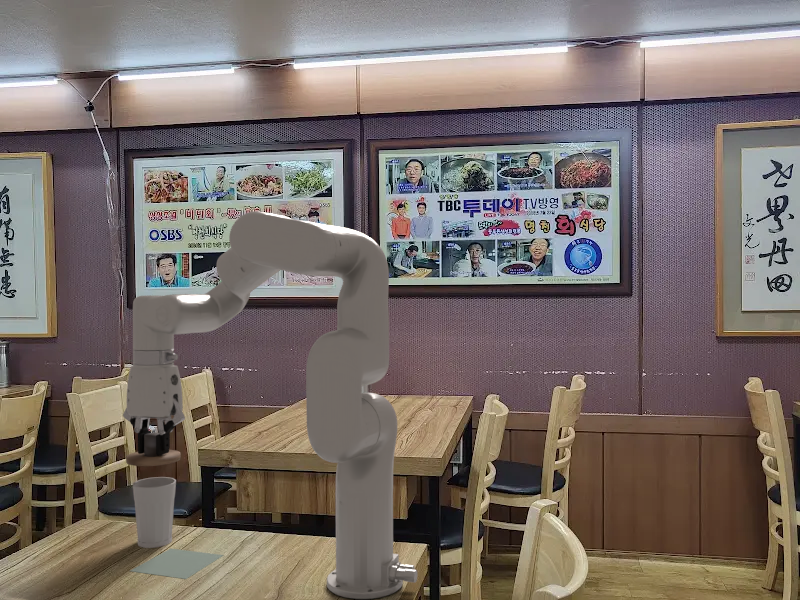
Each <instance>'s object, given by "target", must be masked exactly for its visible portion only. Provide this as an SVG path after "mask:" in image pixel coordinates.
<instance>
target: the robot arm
mask: <svg viewBox="0 0 800 600" xmlns="http://www.w3.org/2000/svg"><path fill="white" fill-rule="evenodd" d="M229 245H230V248H228V249H227V250H226V251H225V252H224V253H222V254H221V255H219V257H218V258H217V260H216V266H215V267H216V272H217V275H218V277H219V279H220V281H221V282H220V283H218V284H217V285H216V286H214V287H213V288H212V289H211V290H209V291H207V292H205V293H203V294H201V293H184V294H183V293H182V294H181V293H180V294H175V293H174V294H173V293H172V294H165V295H153V294H152V295H138V296H136V297H135V298H134V299H133V301H132V302H133V303H132V365H130V370H129V374H128V377H127V378H128V379H127V385H126V386H127V389H126V407H125V410H124V412H123V413H122V417H123V418H124V419H125V420H127V421H128V422H130V424H131V426H132V427H133V429H134V432H135V433H136V434H137V452H138V453H139V454H143V453H144V434H148V433H152V430H149V428H150V419H156V421H157V422H156V423H157V430H158V433H159V434H158V435H157V436H156V454H157V455H163V454H166V453H168V452H169V450H170V447H171V445H170V444H171V443H170V442H171V439H170V437H171V436H170V434H171V433H173V431H174V428H175V427H176V426H177V425H178V424H180V423H182V422H183V421H185V420H186V416H185V414H184V413H183V409H184V408H183V407H184V406H183V405H184V404H183V401H184V400H183V389H182V387H183V386H182V381H181V375H180V371H179V366H178V365H175V361H178V359H179V354H178V353H175V347H174V346H175V335H187V334H198V333H209V332H212V331H215V330H217V329H219V328H221V327H222V326H223V325H225V324H227V323H228V322H230V321H231V320H232V319H233V318H235V317H236V316H237V315H239V314H240V313H241V312H242V311H243V310H244V308H245V306H246V305H247V304H248V302H249V299H250V296H251V293H252V292H253V291H255V290H256V289H257V288H259V287H260V286H261V285H262V284H264V283H265V282H266V281H267V280H269V279H271V277H273V276H274V275H276V274H277V273H279V272H280V271H283V272H284V271H285V272H289V273H293V274H298V275H302V276H310V277H311V276H313V277H336V278H340V279H341V280H342V285H341V287H340V290H339V294H338V298H337V306H336V308H337V309H336V310H337V323H336V324H337V325H336V326H337V327H336V328H337V329H336V330H330V331H328V332H326V333H324V334H322V335H321V336H319V337H318V338H317V339H316V341H315V342H314V343H313V345H312V346H311V348H310V350H309V353H308V356H307V360H306V367H305V368H306V371H305V377H306V378H305V381H306V382H305V383H306V384H305V385H306V386H305V387H306V388H305V389H306V390H305V392H306V397H305V398H306V405H305V406H306V430H307V431H306V432H307V437H308V442H309V443H310V445H311V448H312V450H313V451H314V453H315V455H317V456H318V457H319V458H321V459H322V460H324V461H326V462H329V463H336V473H335V569H334V570H332V571H331V572H330V573H329V574H328V575H327V577H326V587H327V589H328V590H329V591H330V592H331V593H333V594H335V595H336V596H339V597H342V598H347V599H353V600H354V599H355V600H370V599H371V600H372V599H378V598H383V597H386V596H387V597H388V596H389V595H392V594H394V593H396V592H397V591H398V590H400V589H401V588H402V586H403V585H404V583H403V582H408V583H417V580H418V570H417V569H415V568H416V567H415V565H413V564H402V563H401V562H400V561H399V560H400V559H399V557H400V555H399V553H394V494H393V493H394V460H395V450H396V444H397V439H398V438H397V436H398V418H397V414H396V411H395V409H394V407H393V405H392V404H391V402H390V401H389V400H388V399H387V398H386V397H385V396H382V395H381V394H379V393H375V392H363V387H367V386H370V385H372V384H375V383H377V382H379V381H381V380H382V379H383V378H384V377H385V376H386V374H387V373H388V369H389V366H390V314H389V313H390V312H389V283H390V281H389V279H390V274H389V273H390V271H389V265H388V261H387V260H388V259H387V256H386V255H385V252H384V250H383V249H382V248H381V246H380V245H379V243H377V242H376V241H375V240H374V239H373V238H372V237H369V235H366V234H365V233H363V232H360V231H357V230H355V229H351V228H348V227H343V226H336V225H329V224H324V223H318V222H313V221H308V220H307V221H305V220H300V219H295V218H294V219H293V218H290V217H289V216H285V215H282V214H275V213H272V212H271V213H269V212H264V211H258V210H255V211H250V212H246V213H244V214H242V215H241V216H240V217H238V218H237V219H236V221H234V222H233V224H232V226H231V228H230V231H229ZM172 416H173V417H172Z"/></svg>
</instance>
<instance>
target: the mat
mask: <svg viewBox="0 0 800 600" xmlns="http://www.w3.org/2000/svg"><path fill="white" fill-rule="evenodd" d="M222 557H224V554H217V553H209V552H203V551H193V550H185V549H177V548H169V549H167V550H165V551H163V552H162V553H160V554H158V555H156V556H154V557H152V558H151V559H149V560H147V561H145V562H143V563H142V564H139V565H138V566H136V567H134V568H132V569H130V570H129V572H132V573H141V574H146V575H154V576H162V577H169V578H176V579H182V580H187V579H189V578H191V577H192V576H193V575H195V574H197V573H198V572H200V571H202V570H203V569H204V568H206V567H208V566H210V565H211V564H212V563H214V562H215V561H217V560H219V559H221V558H222Z"/></svg>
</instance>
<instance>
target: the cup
mask: <svg viewBox="0 0 800 600" xmlns="http://www.w3.org/2000/svg"><path fill="white" fill-rule="evenodd" d="M176 485H177V479H175V478H174V477H169V476H168V477H166V476H158V477H157V476H156V477H148V478H143V479H138V480H135V482H133V483H132V491H133V501H134V508H135V509H134V510H135V520H136V533H137V546H138V547H141V548H145V549H152V548H159V547H165V546H167V545H169V544H171V543H172V542H173V524H174V522H173V521H174V507H175V497H176V488H177V487H176Z"/></svg>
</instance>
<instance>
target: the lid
mask: <svg viewBox="0 0 800 600" xmlns="http://www.w3.org/2000/svg"><path fill="white" fill-rule="evenodd" d="M158 434H159V432H151V433H148V434H144V453H143V454H139V453H138V451H136V452H131V453H129V454H127V455H125V456H126V457H125V458H126V459H125V462H126V464H127V465H130V466H135V467H154V466H164V465H169V464H174V463H176V462H178V461H180V460H181V455H182V454H181V452H180V451H178V450H176V449H169V452H168V453H166V454H163V455H157V454H156V436H157V435H158Z"/></svg>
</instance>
